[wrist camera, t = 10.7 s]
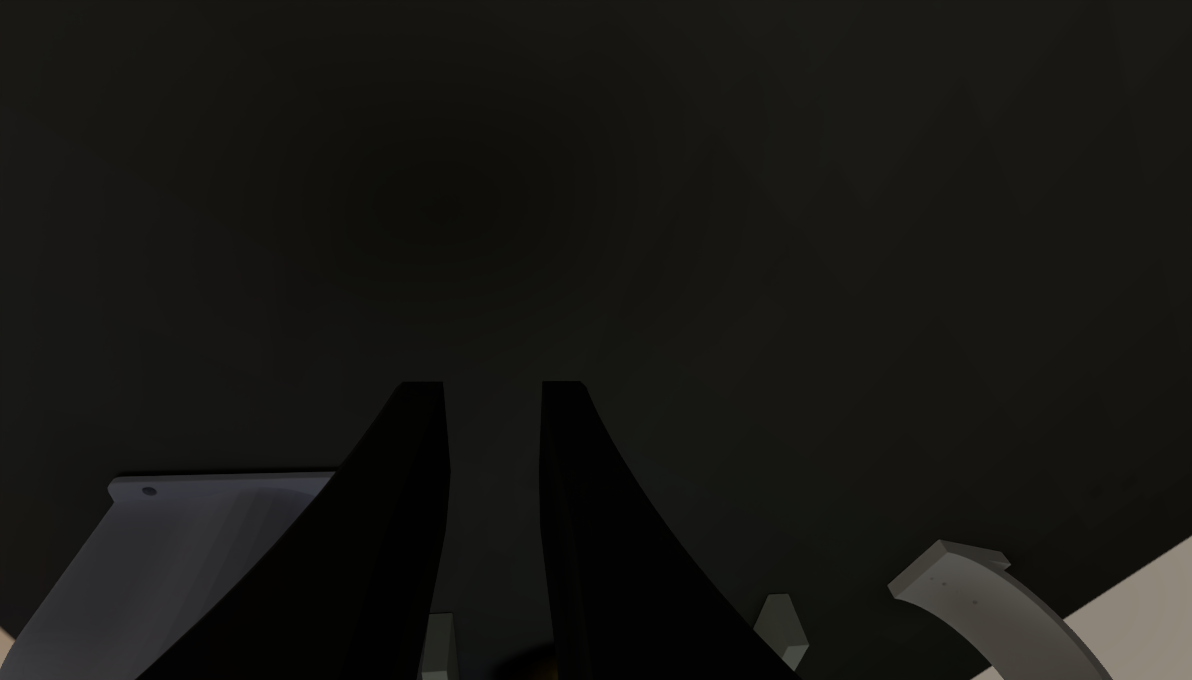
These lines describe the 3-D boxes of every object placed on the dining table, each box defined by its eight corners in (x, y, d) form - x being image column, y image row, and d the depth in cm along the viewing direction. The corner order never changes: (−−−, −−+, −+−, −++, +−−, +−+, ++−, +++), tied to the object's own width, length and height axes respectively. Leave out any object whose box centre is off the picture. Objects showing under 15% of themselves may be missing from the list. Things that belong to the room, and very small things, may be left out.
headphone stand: (938, 538, 32) (1124, 803, 22) (1013, 554, 34) (1215, 804, 24) (886, 585, 34) (1033, 843, 24) (959, 597, 36) (1123, 842, 26)
